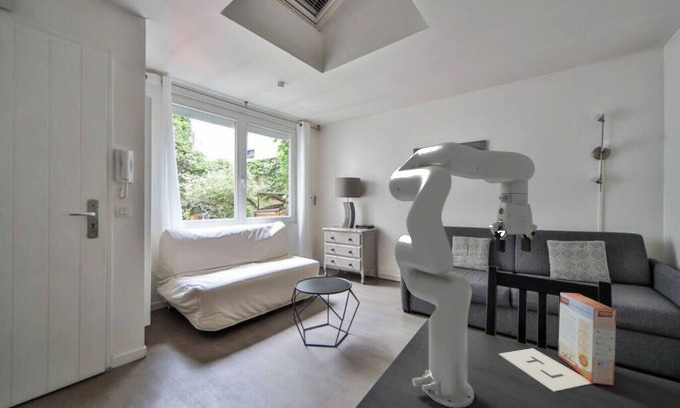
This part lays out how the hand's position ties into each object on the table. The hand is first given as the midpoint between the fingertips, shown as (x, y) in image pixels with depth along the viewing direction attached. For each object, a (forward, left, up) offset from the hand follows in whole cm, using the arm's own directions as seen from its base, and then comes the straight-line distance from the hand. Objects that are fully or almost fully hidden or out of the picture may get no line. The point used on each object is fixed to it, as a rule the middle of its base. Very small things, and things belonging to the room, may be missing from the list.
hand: (513, 251), depth 89 cm
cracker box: (+13, -12, -34) cm, 38 cm away
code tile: (+2, -8, -34) cm, 35 cm away
